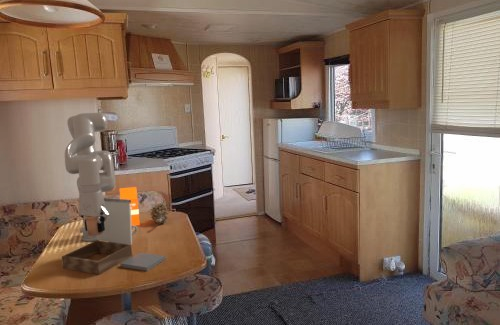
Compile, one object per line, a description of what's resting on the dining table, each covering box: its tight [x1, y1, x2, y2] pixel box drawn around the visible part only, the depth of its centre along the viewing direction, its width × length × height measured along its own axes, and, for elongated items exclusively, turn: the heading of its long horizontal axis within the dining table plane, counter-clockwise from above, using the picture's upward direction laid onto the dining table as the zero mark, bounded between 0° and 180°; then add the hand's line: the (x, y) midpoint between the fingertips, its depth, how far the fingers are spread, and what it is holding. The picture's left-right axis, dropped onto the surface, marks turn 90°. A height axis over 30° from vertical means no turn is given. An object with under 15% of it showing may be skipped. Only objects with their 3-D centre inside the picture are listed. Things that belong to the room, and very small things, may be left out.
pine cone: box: [150, 203, 169, 225], centre depth 216 cm, size 22×10×10 cm, turn 14°
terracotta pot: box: [85, 216, 103, 236], centre depth 167 cm, size 7×7×12 cm
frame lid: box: [96, 197, 133, 245], centre depth 176 cm, size 19×19×1 cm
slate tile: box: [119, 252, 166, 272], centre depth 166 cm, size 13×12×2 cm
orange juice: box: [119, 186, 141, 226], centre depth 219 cm, size 8×9×20 cm
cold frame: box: [61, 240, 133, 275], centre depth 169 cm, size 19×19×5 cm
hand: (95, 230), depth 167 cm, fingers closed on terracotta pot, 6 cm apart
